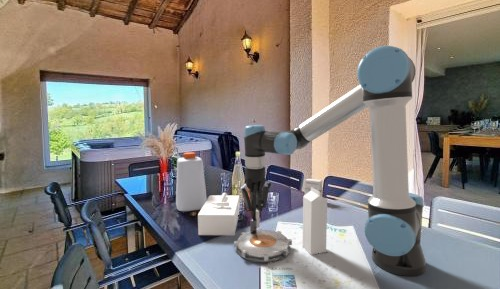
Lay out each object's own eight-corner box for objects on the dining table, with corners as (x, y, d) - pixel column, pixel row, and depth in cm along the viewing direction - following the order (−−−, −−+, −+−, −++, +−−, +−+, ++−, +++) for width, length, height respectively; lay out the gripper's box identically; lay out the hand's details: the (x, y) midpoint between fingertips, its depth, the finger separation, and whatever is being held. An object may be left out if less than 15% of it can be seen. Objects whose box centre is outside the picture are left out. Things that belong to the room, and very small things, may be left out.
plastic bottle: (203, 200, 152) (202, 150, 148) (208, 209, 137) (206, 154, 134) (175, 203, 147) (173, 151, 143) (177, 213, 133) (174, 156, 129)
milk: (310, 255, 93) (311, 192, 90) (302, 246, 99) (302, 187, 96) (326, 252, 95) (327, 190, 92) (317, 244, 100) (318, 185, 98)
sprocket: (301, 251, 93) (302, 232, 92) (250, 266, 85) (249, 245, 84) (272, 229, 111) (272, 213, 110) (227, 239, 102) (226, 222, 101)
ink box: (322, 201, 148) (323, 179, 146) (319, 203, 144) (320, 181, 142) (307, 198, 152) (307, 177, 151) (304, 201, 148) (304, 179, 147)
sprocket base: (301, 253, 94) (301, 250, 94) (253, 269, 85) (253, 267, 85) (270, 232, 111) (270, 230, 111) (227, 244, 101) (227, 242, 101)
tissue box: (198, 235, 109) (197, 209, 108) (210, 212, 134) (209, 190, 133) (234, 236, 109) (234, 209, 107) (239, 212, 133) (239, 190, 132)
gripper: (264, 162, 108) (265, 218, 112) (235, 166, 102) (237, 226, 106) (275, 166, 102) (275, 225, 106) (244, 171, 96) (246, 234, 99)
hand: (256, 226), depth 106 cm, fingers closed
